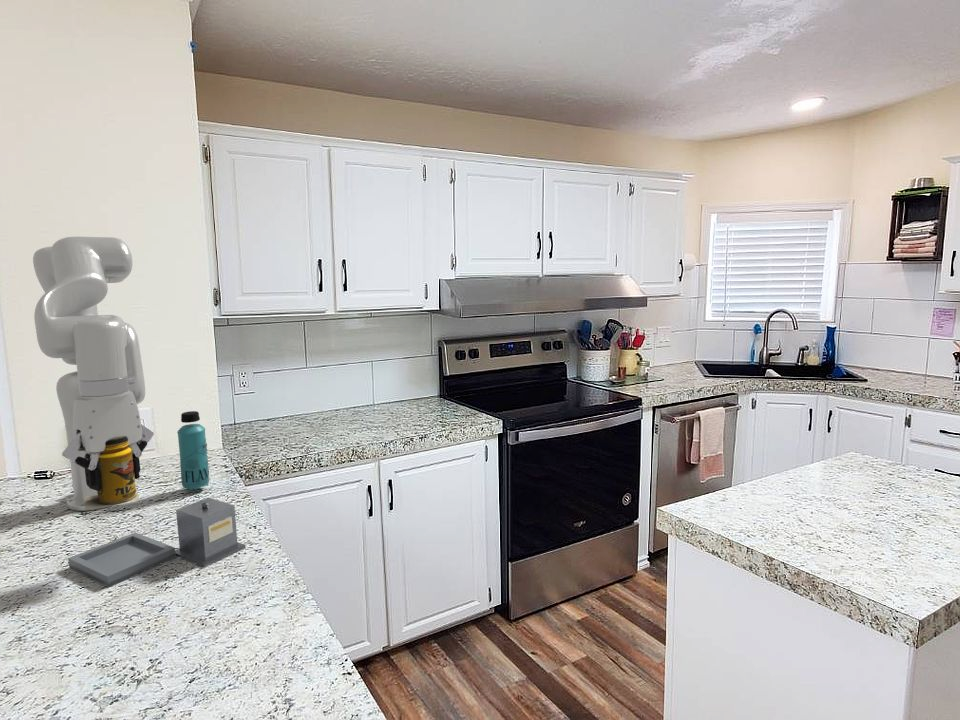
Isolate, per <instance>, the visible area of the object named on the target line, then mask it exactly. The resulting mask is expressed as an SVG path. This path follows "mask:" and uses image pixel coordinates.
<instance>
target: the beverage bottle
mask: <svg viewBox="0 0 960 720" xmlns="http://www.w3.org/2000/svg"><path fill="white" fill-rule="evenodd" d="M200 418H201V417H200V413H199V411H195V410H191V411H184V412H182V413H181V414H180V422H181V423H186V424H183V426H181V427H180V428H179V429H178V430H177V432H176V433H177V437H178V438H177V439H178V441H177V442H178V452H179V463H180V465H179V467H180V479H181V485H182V488H183V489H187V490H188V489H189V490H193V489H199V488H204V487H205V486H208V485H209V483H210V479H211V478H210V470H209V458H208V443H207V438H206V428H205V427H204V426H203V425H201V424H199V423H196V422H199V421H200V420H201V419H200ZM194 422H195V423H194ZM187 423H188V424H187Z"/></svg>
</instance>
